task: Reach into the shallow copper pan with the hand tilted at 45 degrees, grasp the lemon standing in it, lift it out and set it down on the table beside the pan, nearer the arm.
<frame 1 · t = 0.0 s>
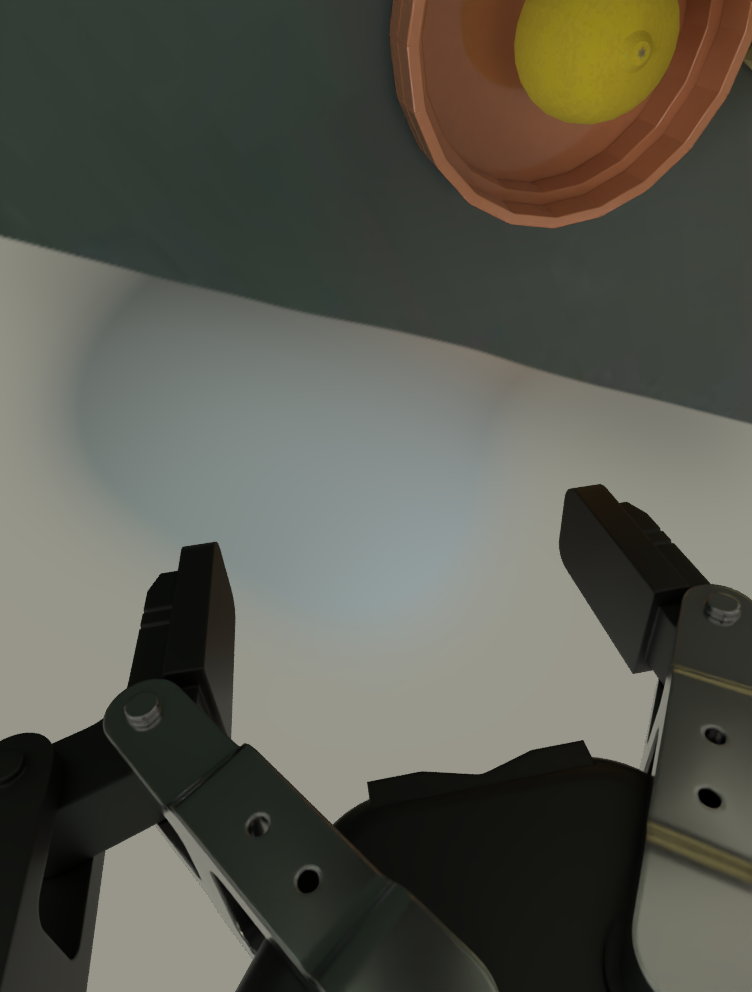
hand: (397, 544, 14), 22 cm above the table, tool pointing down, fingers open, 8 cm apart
lemon: (550, 27, 27), resting on pan
pan: (549, 26, 27), on the table
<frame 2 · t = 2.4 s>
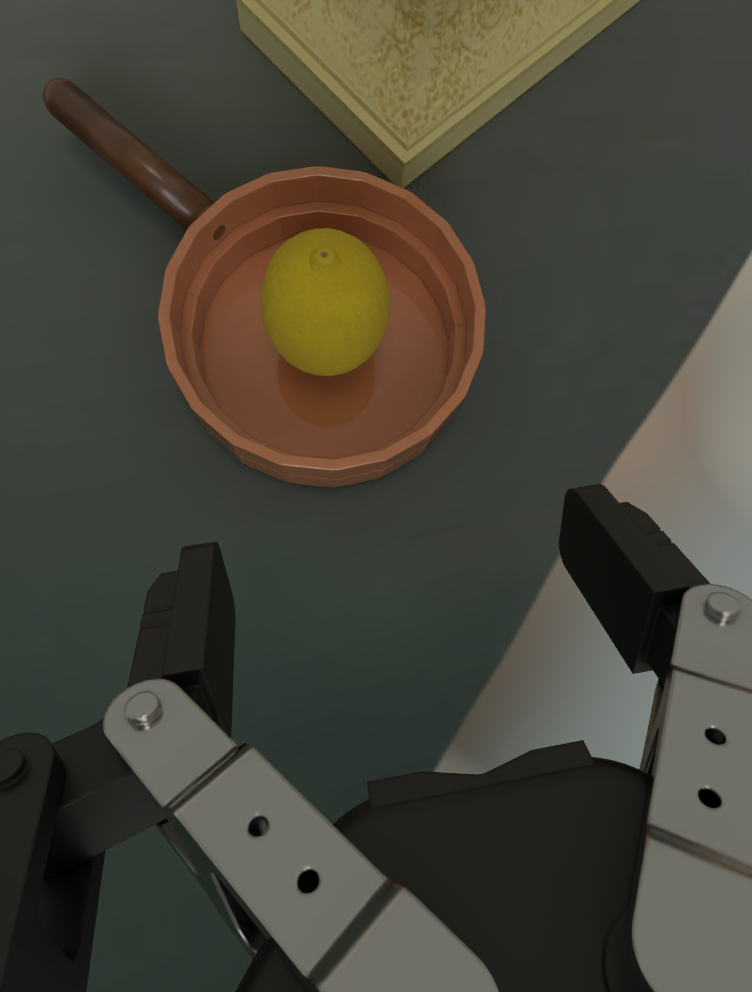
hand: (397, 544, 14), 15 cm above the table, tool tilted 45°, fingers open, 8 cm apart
pan handle: (134, 160, 29), point 2 cm above the table
lemon: (326, 347, 31), resting on pan
pan: (326, 348, 31), on the table
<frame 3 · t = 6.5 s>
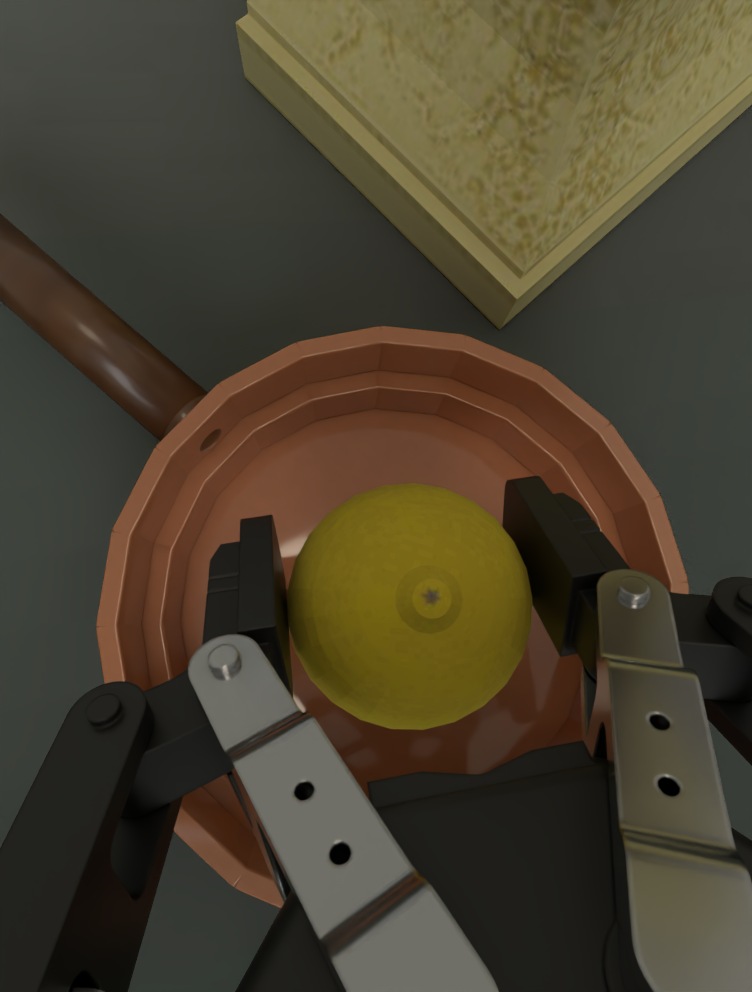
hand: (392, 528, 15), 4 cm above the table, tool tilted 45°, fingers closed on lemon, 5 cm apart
pan handle: (65, 313, 17), point 2 cm above the table
lemon: (389, 605, 19), resting on pan, touching gripper
pan: (389, 605, 19), on the table
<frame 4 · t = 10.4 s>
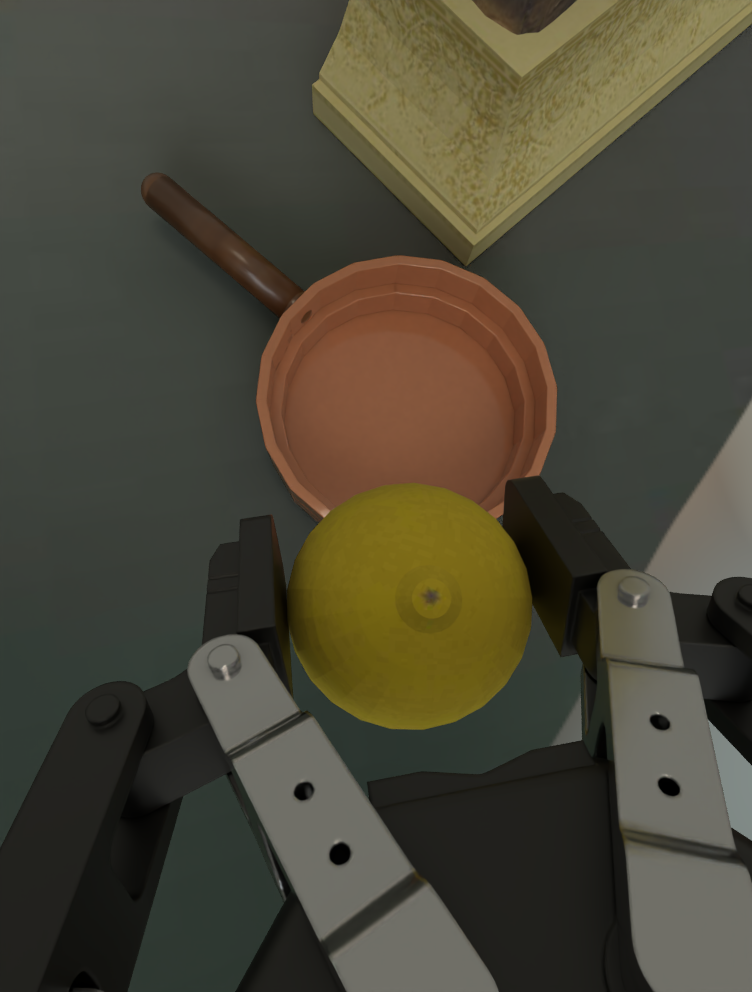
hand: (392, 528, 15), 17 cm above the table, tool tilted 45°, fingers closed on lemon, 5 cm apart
decorative clock: (553, 60, 38), on the table
pan handle: (226, 249, 31), point 2 cm above the table
lemon: (389, 605, 19), point 13 cm above the table, touching gripper
pan: (400, 419, 33), on the table
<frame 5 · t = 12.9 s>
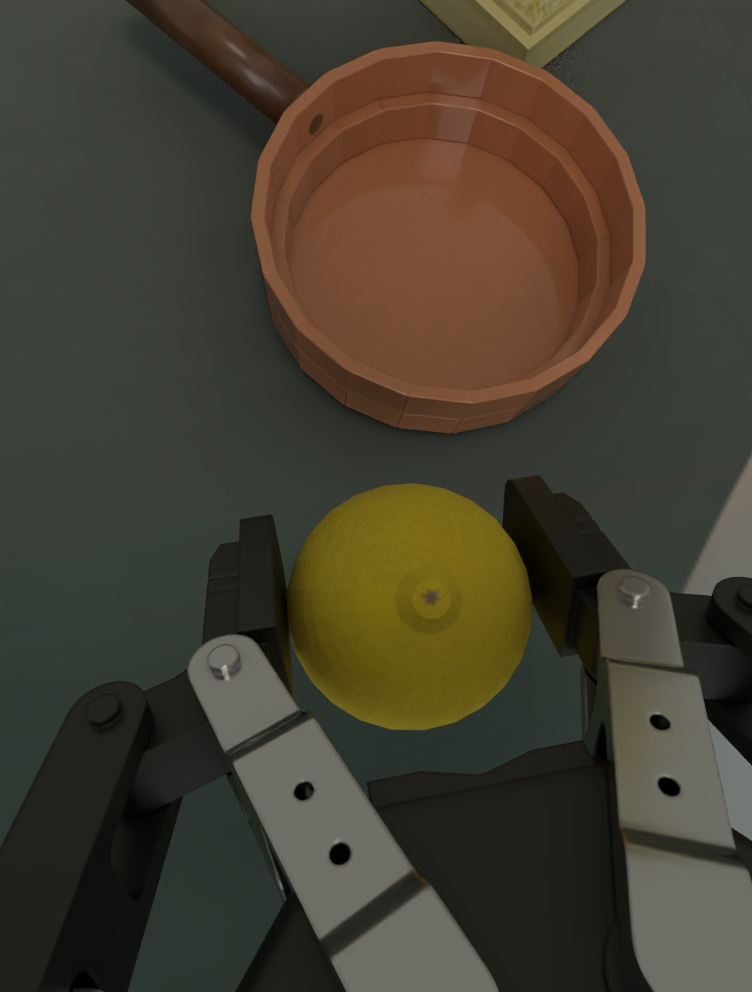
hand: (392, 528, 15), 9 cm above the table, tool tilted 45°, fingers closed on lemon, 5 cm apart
pan handle: (212, 39, 24), point 2 cm above the table
lemon: (389, 605, 19), point 5 cm above the table, touching gripper
pan: (435, 271, 26), on the table
when the fingers open (4 cm above the table, at t = 14.8 s): lemon stays where it is, on the table.
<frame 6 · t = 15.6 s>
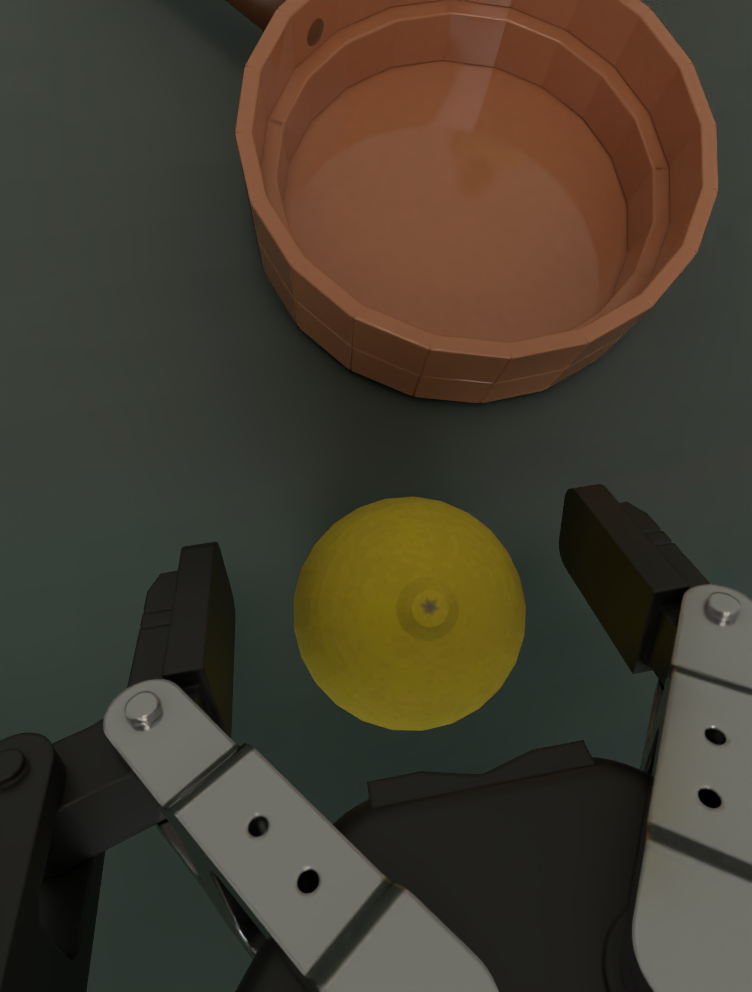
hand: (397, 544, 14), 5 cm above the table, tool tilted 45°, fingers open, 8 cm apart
lemon: (390, 610, 19), on the table
pan: (456, 215, 22), on the table
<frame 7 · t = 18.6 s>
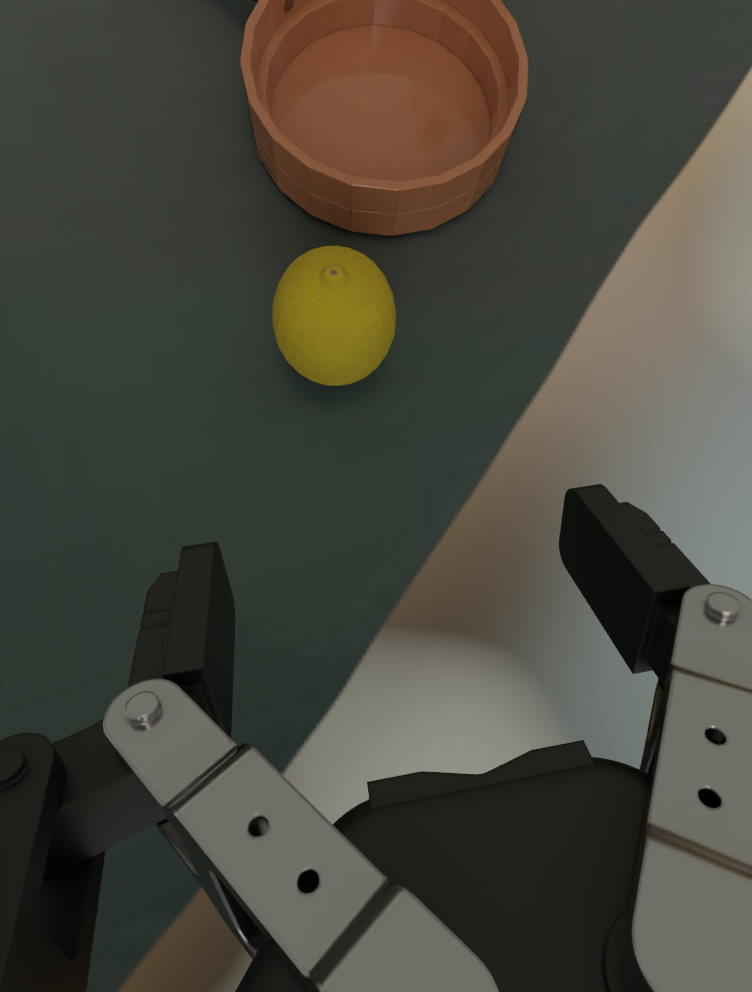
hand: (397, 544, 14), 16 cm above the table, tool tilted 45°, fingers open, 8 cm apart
lemon: (334, 357, 32), on the table
pan: (381, 123, 34), on the table
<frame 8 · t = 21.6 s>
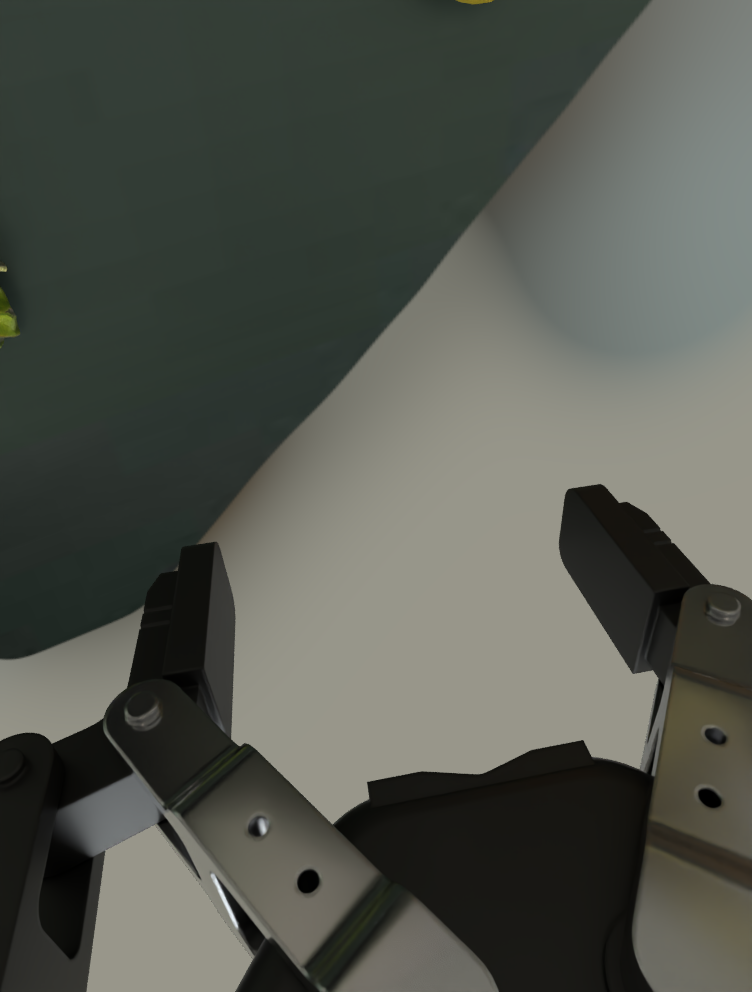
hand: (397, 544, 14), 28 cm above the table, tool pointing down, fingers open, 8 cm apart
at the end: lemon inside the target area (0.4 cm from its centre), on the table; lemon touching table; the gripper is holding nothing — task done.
